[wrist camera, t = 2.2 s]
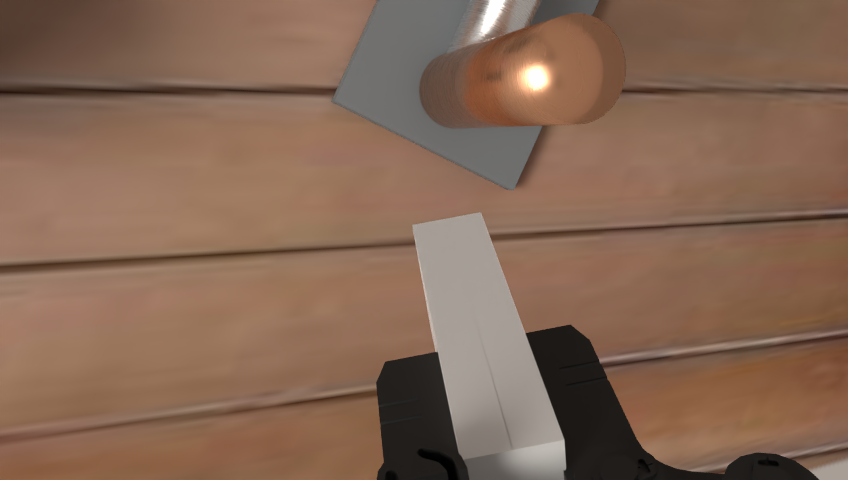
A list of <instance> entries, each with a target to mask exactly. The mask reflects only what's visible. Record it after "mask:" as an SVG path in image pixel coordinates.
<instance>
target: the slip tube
mask: <svg viewBox="0 0 848 480" xmlns="http://www.w3.org/2000/svg"><path fill="white" fill-rule="evenodd" d="M541 1H542V0H470V2H469V4H468V6H467V8H466V11H465V13H464V15H463V17H462V20H461V22H460V24H459V26H458V28H457V31H456V33H455V35H454V37H453V39H452V42H451V44H450V46H449V48H448V51H447V53H445V54H442V55H440V56H438V57H436V58H435V59H433V60H432V61H431V62H430V63H429V64H428V65H427V67H426V68H425V70H424V72H423V74H422V76H421V80H420V85H419V95H420V100H421V104H422V106H423V108H424V110H425V112H426V113H427V115H428V116H429V117H430V118H431V119H432V120H433V121H434V122H436V123H437V124H439V125H441V126H443V127H446V128H452V129H460V128H488V127H516V126H544V125H572V124H585V123H589V122H592V121H594V120H597V119H599V118H600V117H602V116H603V115H605V114H606V113H607V112H608V111H609V110H610V109H611V108H612V107H613V105H614V104H615V103H616V101H617V100H618V98H619V96H620V94H621V91H622V88H623V85H624V81H625V74H626V64H625V56H624V52H623V49H622V46H621V44H620V41H619V39H618V38H617V36H616V34H615V33H614V32H613V31H612V29H611V28H610V27H609V26H608V25H607V24H606V23H604V22H603V21H601V20H600V19H598V18H596V17H594V16H591V15H588V14H583V13H571V14H566V15H563V16H560V17H557V18H553V19H550V20H547V21H544V22H541V23H538V24H535V25H532V26H530V25H531V23H532V21H533V18H534V16H535V14H536V12H537V10H538V7H539V5H540V3H541Z"/></svg>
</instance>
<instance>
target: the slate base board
mask: <svg viewBox="0 0 848 480" xmlns="http://www.w3.org/2000/svg"><path fill="white" fill-rule="evenodd" d="M469 2H470V0H377V2H376V4H375V6H374V9H373V11H372V13H371V15H370V17H369V20H368V22H367V24H366V26H365V28H364V31H363V33H362V35H361V37H360V39H359V42H358V44H357V46H356V48H355V51H354V53H353V55H352V57H351V59H350V62H349V64H348V66H347V68H346V70H345V73H344V75H343V77H342V79H341V81H340V84H339V86H338V88H337V90H336V92H335V95H334V97H333V99H332V101H331V102H333V103H335V104H337V105H339V106H341V107H343V108H345V109H347V110H349V111H351V112H353V113H355V114H357V115H359V116H361V117H363V118H365V119H367V120H369V121H371V122H373V123H375V124H377V125H379V126H381V127H383V128H385V129H387V130H389V131H391V132H393V133H395V134H397V135H399V136H401V137H403V138H405V139H407V140H409V141H411V142H413V143H415V144H417V145H419V146H421V147H423V148H425V149H427V150H429V151H431V152H433V153H435V154H437V155H439V156H441V157H443V158H445V159H447V160H449V161H451V162H453V163H455V164H457V165H459V166H461V167H463V168H465V169H467V170H469V171H471V172H473V173H475V174H477V175H479V176H481V177H483V178H485V179H487V180H489V181H491V182H493V183H495V184H497V185H499V186H501V187H503V188H505V189H507V190H513V191H514V188H515V186H516V184H517V182H518V180H519V177H520V175H521V173H522V171H523V168H524V166H525V164H526V162H527V160H528V157H529V155H530V153H531V151H532V148H533V146H534V144H535V142H536V140H537V137H538V135H539V133H540V131H541V128H542V126H516V127H488V128H460V129H452V128H446V127H443V126H441V125H439V124H437V123H436V122H434V121H433V120H432V119H431V118H430V117H429V116H428V115H427V113H426V112H425V110H424V108H423V106H422V104H421V100H420V95H419V85H420V80H421V76H422V74H423V72H424V70H425V68H426V67H427V65H428V64H429V63H430V62H431V61H432V60H433V59H435V58H436V57H438V56H440V55H442V54H445V53H447V51H448V48H449V46H450V44H451V42H452V39H453V37H454V35H455V33H456V31H457V28H458V26H459V24H460V22H461V20H462V17H463V15H464V13H465V11H466V8H467V6H468V4H469ZM598 2H599V0H542V1H541V3H540V5H539V7H538V10H537V12H536V14H535V16H534V18H533V21H532V23H531V25H530V26H532V25H535V24H538V23H541V22H544V21H547V20H550V19H553V18H557V17H560V16H563V15H566V14H571V13H583V14H588V15H591V16H592V15H593V13H594V11H595V8H596V6H597V4H598Z"/></svg>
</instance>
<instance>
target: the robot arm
mask: <svg viewBox="0 0 848 480" xmlns="http://www.w3.org/2000/svg"><path fill="white" fill-rule="evenodd" d="M412 226H413V232H414V237H415V243H416V248H417V254H418V259H419V265H420V271H421V276H422V282H423V287H424V293H425V298H426V304H427V310H428V315H429V321H430V326H431V331H432V336H433V341H434V346H435V351H436V352H434V353H429V354H424V355H418V356H413V357H408V358H403V359H397V360H392V361H387V362H385V364H384V366H383V369H382V371H381V373H380V375H379V378H378V380H377V382H376V385H377V395H378V405H379V416H380V424H381V437H382V447H383V457H384V463H383V465H382V466H381V468H380V469H379V471H378V475H377V480H819V479H818V478H817V477H816V476H815V475H814V474H813V473H811V472H810V471H809V470H807V469H806V468H805V467H803V466H802V465H800V464H799V463H797V462H796V461H794V460H791V459H788V458H786V457H783V456H780V455H777V454H768V453H753V454H749V455H745V456H741V457H739V458H738V459H736V460H735V461H734V462H732V463H731V464H729V465H728V467H727V469H726V472H725V474H715V473H703V472H691V471H686V470H680V469H676V468H673V467H670V466H668V465H665V464H663V463H661V462H659V461H658V460H656V459H655V458H654V457H653V456H652V455H651V454H649V453H647V452H646V451H645V450H644V449H643V448H642V447H641V445H640V444H639V442H638V440H637V439H636V437H635V435H634V433H633V431H632V428H631V426H630V424H629V422H628V420H627V418H626V416H625V414H624V412H623V409H622V407H621V405H620V403H619V401H618V399H617V397H616V395H615V393H614V390H613V388H612V386H611V384H610V382H609V381H608V380H607V376H606V374H605V372H604V369H603V367H602V365H601V364H600V362H599V359H598V357H597V355H596V353H595V350H594V348H593V346H592V344H591V342H590V340H589V339H587V338H586V337H585V336H584V335H583V334H581V333H580V332H579V331H578V330H576V329H575V328H574V327H573V326H571V325H566V326H561V327H556V328H551V329H545V330H540V331H535V332H530V333H525V331H524V328H523V326H522V323H521V320H520V318H519V315H518V312H517V309H516V307H515V304H514V301H513V298H512V296H511V293H510V290H509V288H508V285H507V282H506V279H505V277H504V274H503V271H502V269H501V266H500V263H499V260H498V258H497V255H496V252H495V249H494V247H493V244H492V241H491V239H490V236H489V233H488V230H487V228H486V225H485V222H484V220H483V217H482V214H481V212H480V213H474V214H469V215H464V216H458V217H453V218H447V219H442V220H437V221H431V222H426V223H421V224H415V225H412Z"/></svg>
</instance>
